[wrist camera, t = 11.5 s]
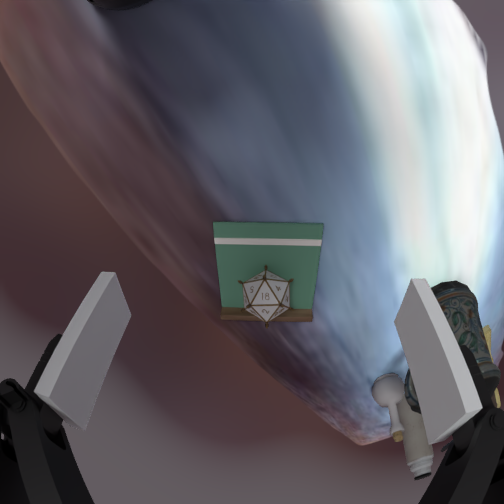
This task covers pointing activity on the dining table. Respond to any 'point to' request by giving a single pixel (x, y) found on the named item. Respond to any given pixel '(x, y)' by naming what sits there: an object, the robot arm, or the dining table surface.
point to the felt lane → (268, 257)
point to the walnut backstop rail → (288, 316)
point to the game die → (266, 295)
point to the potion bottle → (390, 400)
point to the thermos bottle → (415, 441)
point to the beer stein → (460, 334)
